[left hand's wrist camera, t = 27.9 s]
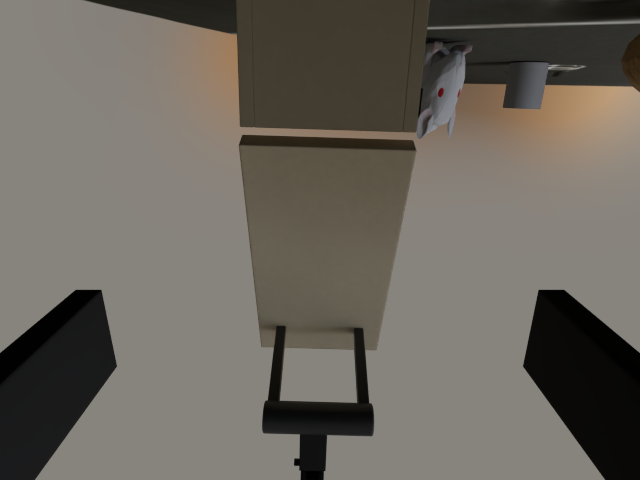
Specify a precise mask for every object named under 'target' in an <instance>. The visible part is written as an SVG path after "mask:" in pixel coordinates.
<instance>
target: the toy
mask: <svg viewBox="0 0 640 480" xmlns="http://www.w3.org/2000/svg"><path fill="white" fill-rule="evenodd" d="M442 44H443V42H439V41H435V42H431V43H427V44H425V53H424V63H423V72H422V82H421V92H420V101H419V111H418V121H417V136H418V138H419V139H421V138H423V137H424V136H425V135H426V134H427V133H428V132H431V131H434V130H435V129H436V128H437V127H438V126H439V125H443V124H445V123H447V122H448V134H449V138H450V136H451V133H452V129H453V125H454V120H455V106H456V103H457V100H458V97H459V94H460V92H461V89H462V86H463V83H464V79H465V56H464V55H465V54H466V53H468V52H471V49H472V45H469V44H465V45H456V46H454V47H452V48H451V50H449V49H446V48H445V47H442Z"/></svg>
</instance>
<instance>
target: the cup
mask: <svg viewBox="0 0 640 480" xmlns="http://www.w3.org/2000/svg"><path fill="white" fill-rule="evenodd" d="M548 67H549V63H544V62H516V63H510V67H509V73H508V79H507V85H506V91H505V97H504V103H503V108H521V109H540V108H541V103H542V98H543V93H544V87H545V82H546V77H547V72H548Z"/></svg>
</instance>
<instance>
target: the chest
mask: <svg viewBox="0 0 640 480" xmlns="http://www.w3.org/2000/svg"><path fill="white" fill-rule="evenodd" d="M429 5H430V0H236V14H237V46H238V77H239V108H240V109H239V110H240V127H260V128H291V129H324V130H355V131H386V132H416V130H417V121H418V111H419V101H420V92H421V82H422V72H423V63H424V53H425V43H426V34H427V24H428V14H429Z"/></svg>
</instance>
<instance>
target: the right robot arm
mask: <svg viewBox="0 0 640 480" xmlns="http://www.w3.org/2000/svg"><path fill="white" fill-rule="evenodd" d="M326 445H327V435H308V434H300V459H294V465H295V466H299V470H301V480H323V479H324V471H325V467H326Z"/></svg>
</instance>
